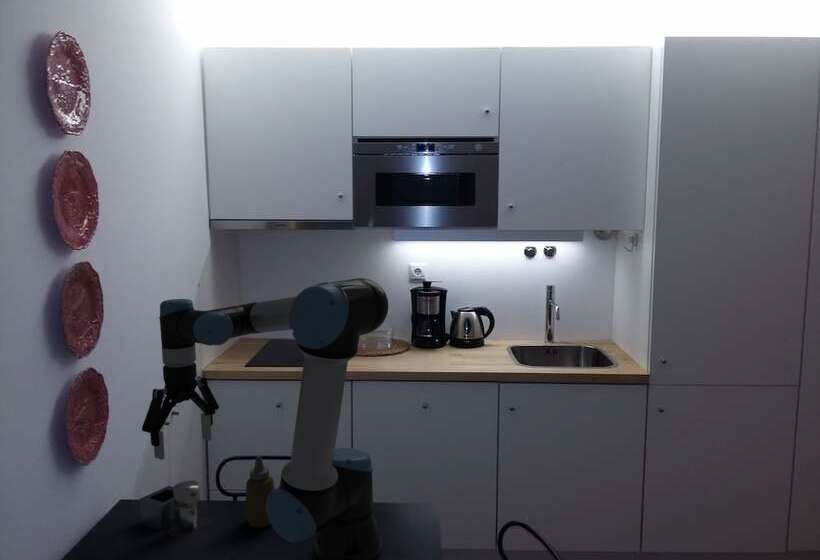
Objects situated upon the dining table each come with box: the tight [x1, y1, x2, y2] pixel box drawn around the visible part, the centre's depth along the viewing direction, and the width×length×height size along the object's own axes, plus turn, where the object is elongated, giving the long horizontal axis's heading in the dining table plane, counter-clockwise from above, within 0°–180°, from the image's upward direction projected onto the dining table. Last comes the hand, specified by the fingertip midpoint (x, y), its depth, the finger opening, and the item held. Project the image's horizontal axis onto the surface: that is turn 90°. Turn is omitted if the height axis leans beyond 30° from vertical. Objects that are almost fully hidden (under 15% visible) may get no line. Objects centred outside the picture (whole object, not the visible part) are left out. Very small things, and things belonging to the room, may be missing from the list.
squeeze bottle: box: [244, 455, 276, 529], centre depth 149 cm, size 8×8×18 cm
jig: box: [138, 485, 214, 540], centre depth 151 cm, size 16×10×7 cm, turn 58°
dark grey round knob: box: [172, 480, 201, 531], centre depth 148 cm, size 6×6×10 cm
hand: (184, 448), depth 146 cm, fingers open, 13 cm apart
